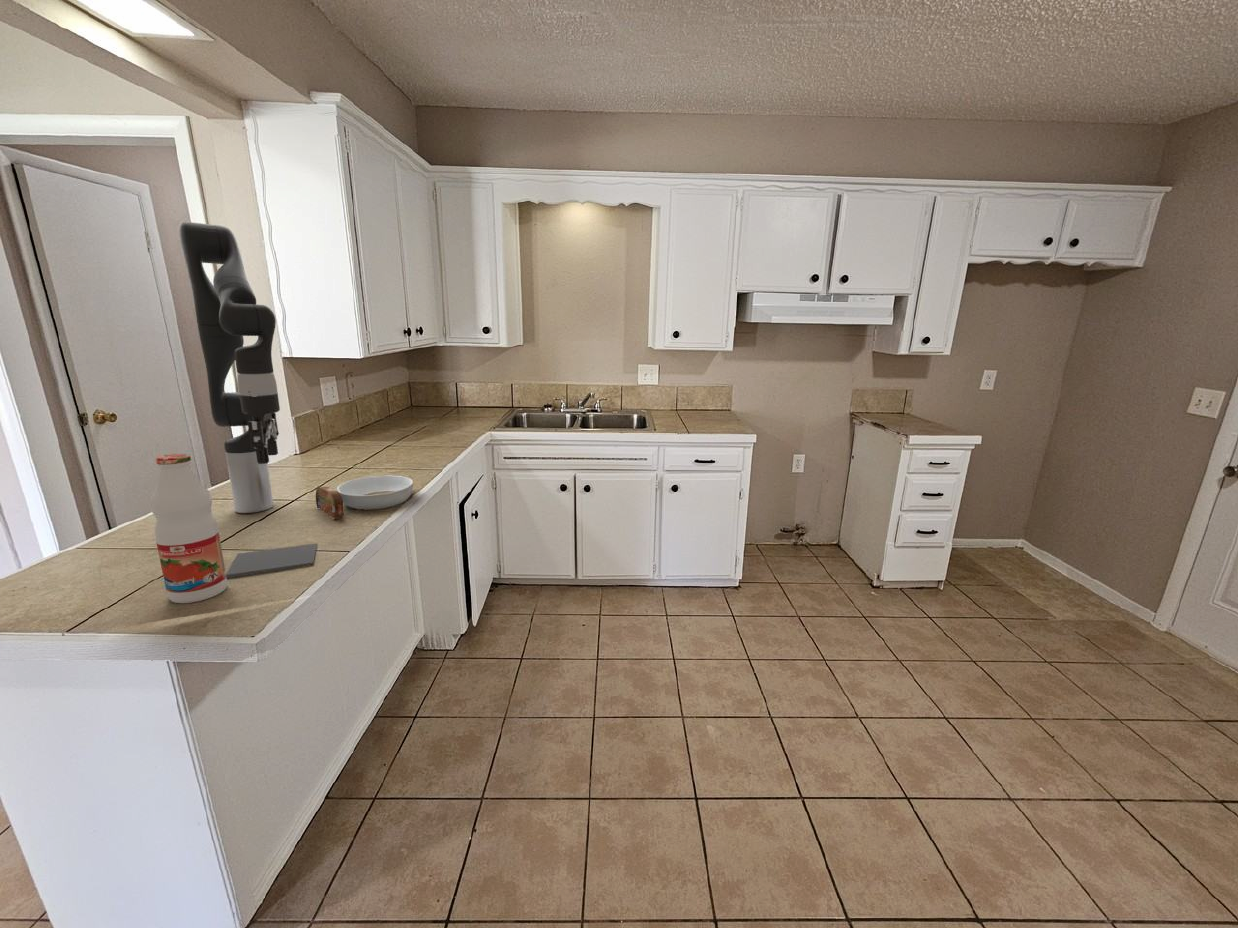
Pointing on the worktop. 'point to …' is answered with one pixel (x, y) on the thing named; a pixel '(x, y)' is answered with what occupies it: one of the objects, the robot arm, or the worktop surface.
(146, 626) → the worktop surface
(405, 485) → the serving bowl
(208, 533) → the fruit juice
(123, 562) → the worktop surface
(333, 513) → the tin
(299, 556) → the mat
